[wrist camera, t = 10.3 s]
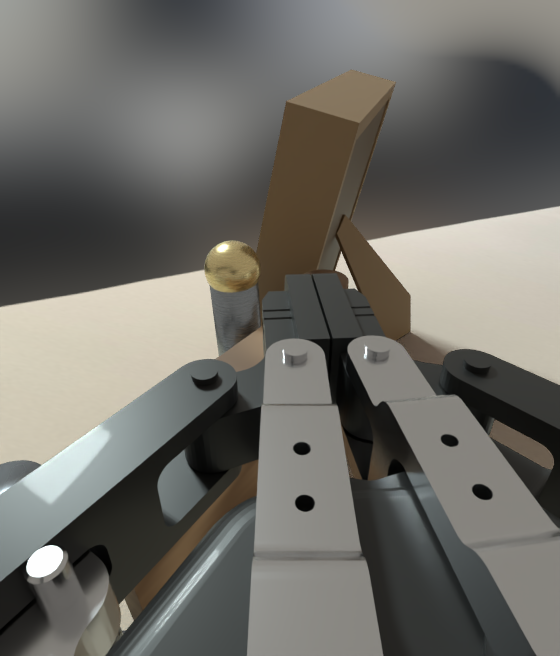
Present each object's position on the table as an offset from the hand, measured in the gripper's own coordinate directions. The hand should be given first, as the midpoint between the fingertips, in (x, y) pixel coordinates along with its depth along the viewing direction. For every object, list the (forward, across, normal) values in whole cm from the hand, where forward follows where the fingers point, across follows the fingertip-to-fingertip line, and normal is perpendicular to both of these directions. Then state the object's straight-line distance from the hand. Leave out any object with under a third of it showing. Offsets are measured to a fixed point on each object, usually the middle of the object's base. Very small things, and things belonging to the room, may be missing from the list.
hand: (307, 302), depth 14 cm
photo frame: (+27, -7, +21) cm, 35 cm away
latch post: (+14, +2, +21) cm, 26 cm away
